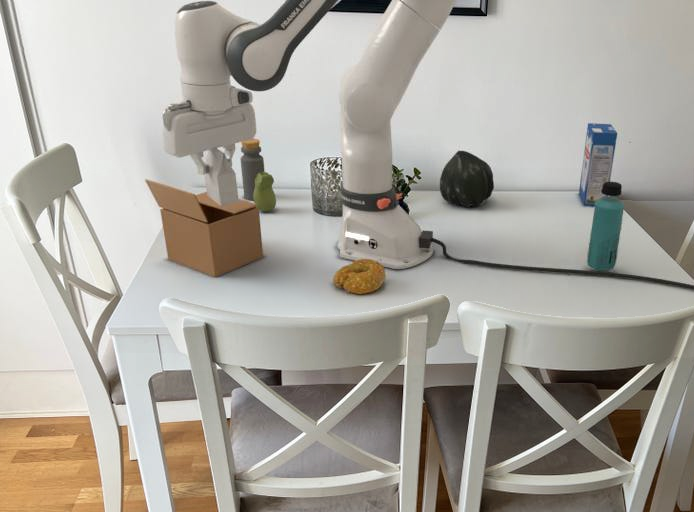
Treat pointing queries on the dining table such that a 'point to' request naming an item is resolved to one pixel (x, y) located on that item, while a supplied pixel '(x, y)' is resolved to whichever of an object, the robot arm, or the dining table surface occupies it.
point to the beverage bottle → (606, 228)
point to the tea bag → (220, 179)
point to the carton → (214, 236)
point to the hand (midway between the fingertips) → (215, 170)
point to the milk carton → (597, 162)
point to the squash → (466, 180)
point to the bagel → (360, 276)
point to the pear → (264, 192)
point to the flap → (176, 200)
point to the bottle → (251, 165)
